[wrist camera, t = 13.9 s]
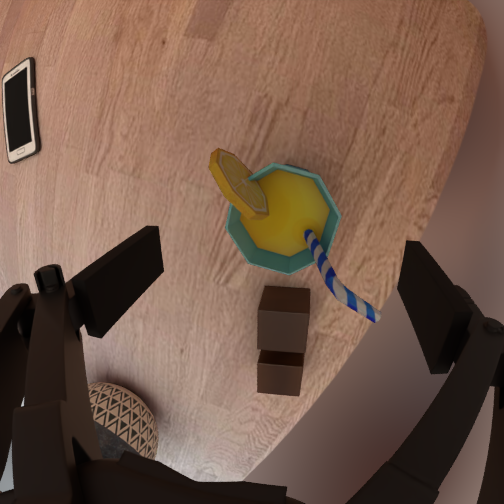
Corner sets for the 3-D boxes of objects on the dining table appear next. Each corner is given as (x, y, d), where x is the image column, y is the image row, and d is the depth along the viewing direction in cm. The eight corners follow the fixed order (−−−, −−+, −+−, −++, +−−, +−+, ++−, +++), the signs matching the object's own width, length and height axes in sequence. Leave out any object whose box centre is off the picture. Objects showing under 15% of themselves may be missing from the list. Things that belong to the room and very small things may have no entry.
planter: (87, 339, 44) (10, 428, 24) (190, 400, 44) (140, 513, 25) (82, 395, 52) (30, 466, 32) (162, 443, 52) (124, 524, 33)
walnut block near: (310, 288, 33) (309, 313, 29) (306, 325, 35) (305, 353, 31) (264, 285, 34) (257, 309, 29) (264, 322, 36) (257, 349, 31)
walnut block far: (305, 339, 36) (303, 367, 31) (301, 368, 38) (299, 396, 33) (263, 335, 37) (257, 363, 32) (263, 365, 39) (257, 392, 34)
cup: (376, 211, 29) (427, 280, 15) (327, 266, 32) (335, 364, 18) (263, 122, 27) (220, 114, 14) (218, 185, 31) (147, 232, 17)
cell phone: (13, 164, 34) (8, 165, 33) (6, 76, 29) (1, 76, 28) (41, 151, 32) (36, 152, 32) (35, 55, 27) (30, 54, 26)
